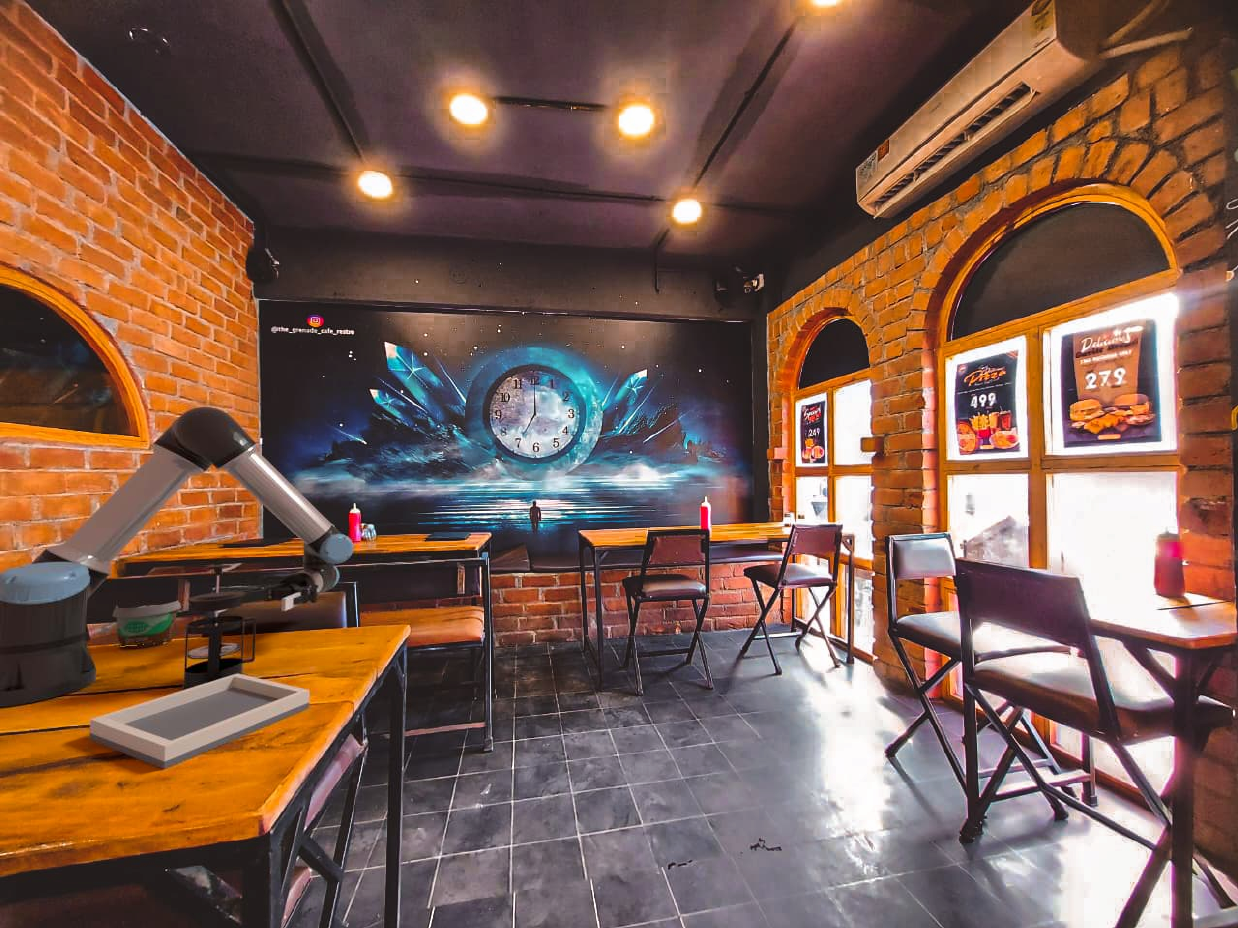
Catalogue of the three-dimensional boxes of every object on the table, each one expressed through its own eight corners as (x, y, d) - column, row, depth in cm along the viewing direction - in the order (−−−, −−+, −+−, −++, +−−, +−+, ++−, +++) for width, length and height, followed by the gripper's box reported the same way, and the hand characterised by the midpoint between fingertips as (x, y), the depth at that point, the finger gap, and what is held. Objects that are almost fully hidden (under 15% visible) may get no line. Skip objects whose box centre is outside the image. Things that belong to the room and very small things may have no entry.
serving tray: (89, 739, 75) (90, 719, 75) (236, 689, 94) (237, 673, 94) (164, 769, 67) (165, 746, 67) (309, 707, 86) (309, 690, 86)
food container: (103, 655, 113) (105, 611, 114) (111, 648, 118) (113, 605, 119) (174, 645, 120) (176, 604, 120) (179, 639, 125) (181, 599, 125)
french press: (174, 697, 90) (180, 570, 91) (180, 681, 98) (185, 564, 99) (254, 682, 97) (258, 565, 98) (253, 668, 105) (257, 559, 106)
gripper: (350, 599, 130) (310, 621, 109) (248, 602, 127) (187, 625, 106) (351, 571, 131) (311, 586, 110) (249, 573, 128) (188, 589, 107)
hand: (250, 605), depth 108 cm, fingers open, 13 cm apart
